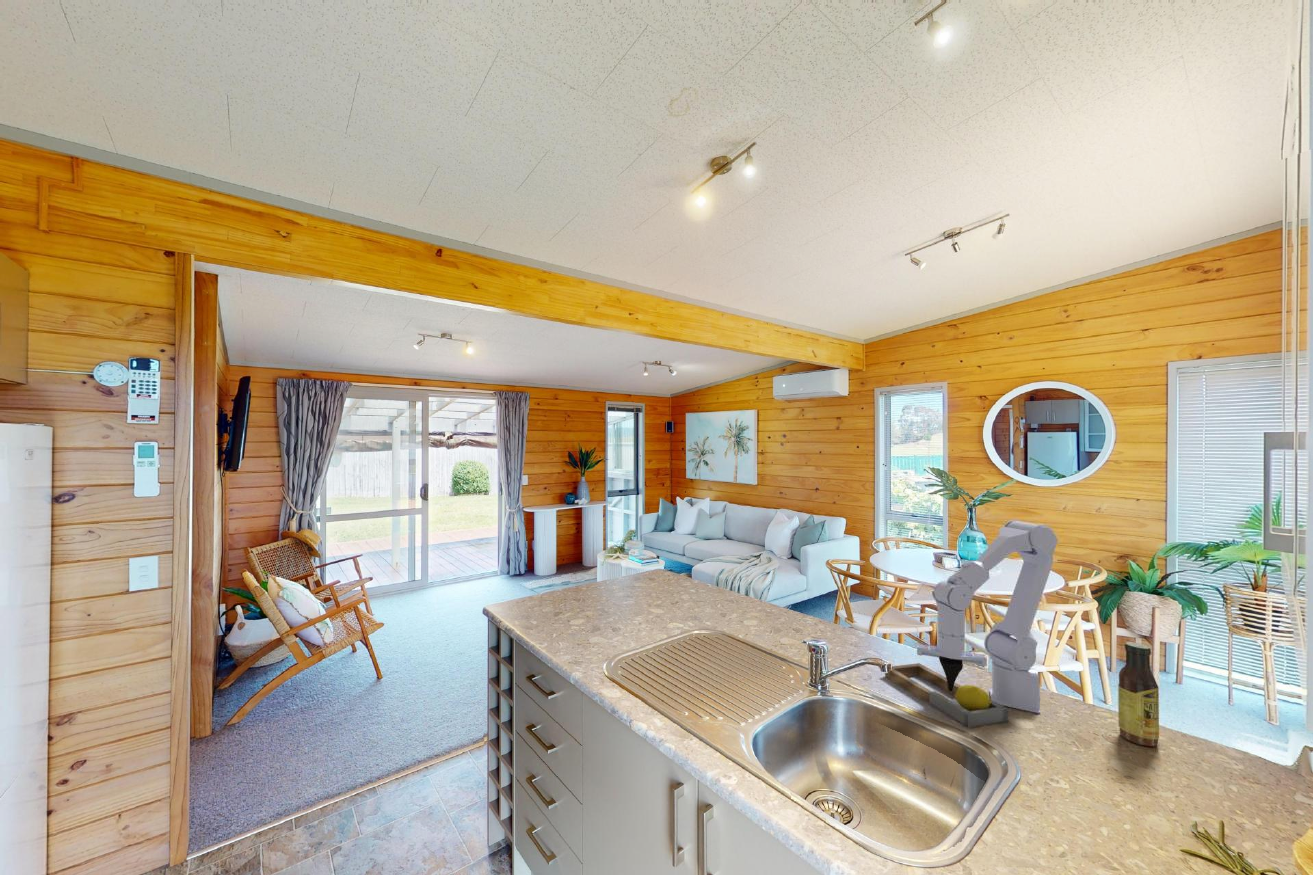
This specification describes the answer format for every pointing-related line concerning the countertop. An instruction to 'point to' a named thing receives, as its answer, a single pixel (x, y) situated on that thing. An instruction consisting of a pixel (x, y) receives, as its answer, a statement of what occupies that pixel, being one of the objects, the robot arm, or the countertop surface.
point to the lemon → (972, 698)
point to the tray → (966, 717)
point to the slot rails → (901, 678)
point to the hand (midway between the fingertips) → (950, 689)
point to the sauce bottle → (1138, 697)
